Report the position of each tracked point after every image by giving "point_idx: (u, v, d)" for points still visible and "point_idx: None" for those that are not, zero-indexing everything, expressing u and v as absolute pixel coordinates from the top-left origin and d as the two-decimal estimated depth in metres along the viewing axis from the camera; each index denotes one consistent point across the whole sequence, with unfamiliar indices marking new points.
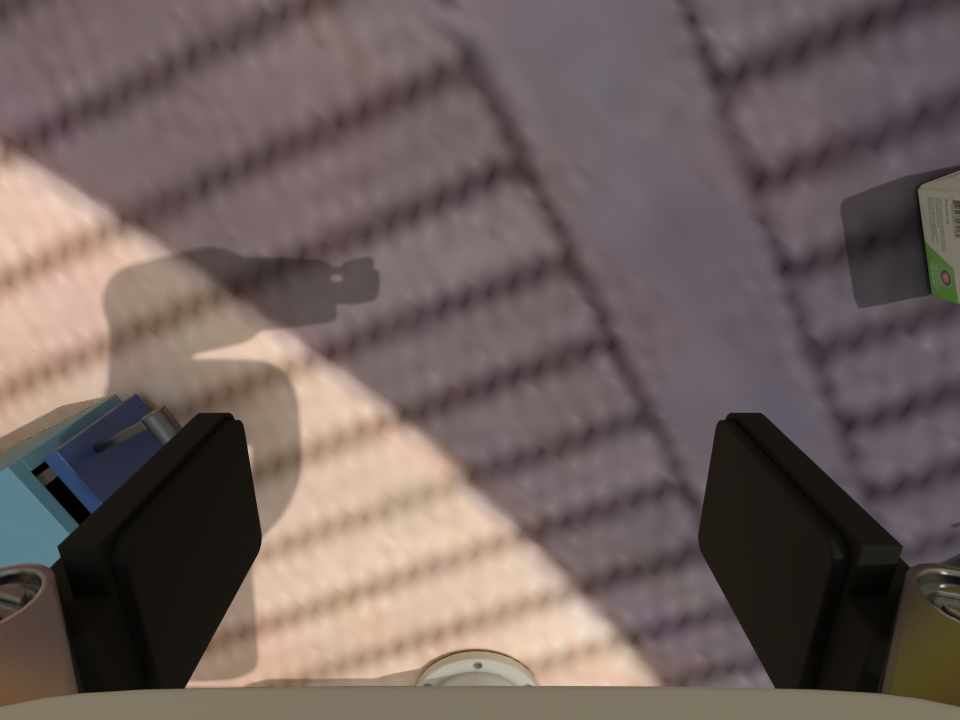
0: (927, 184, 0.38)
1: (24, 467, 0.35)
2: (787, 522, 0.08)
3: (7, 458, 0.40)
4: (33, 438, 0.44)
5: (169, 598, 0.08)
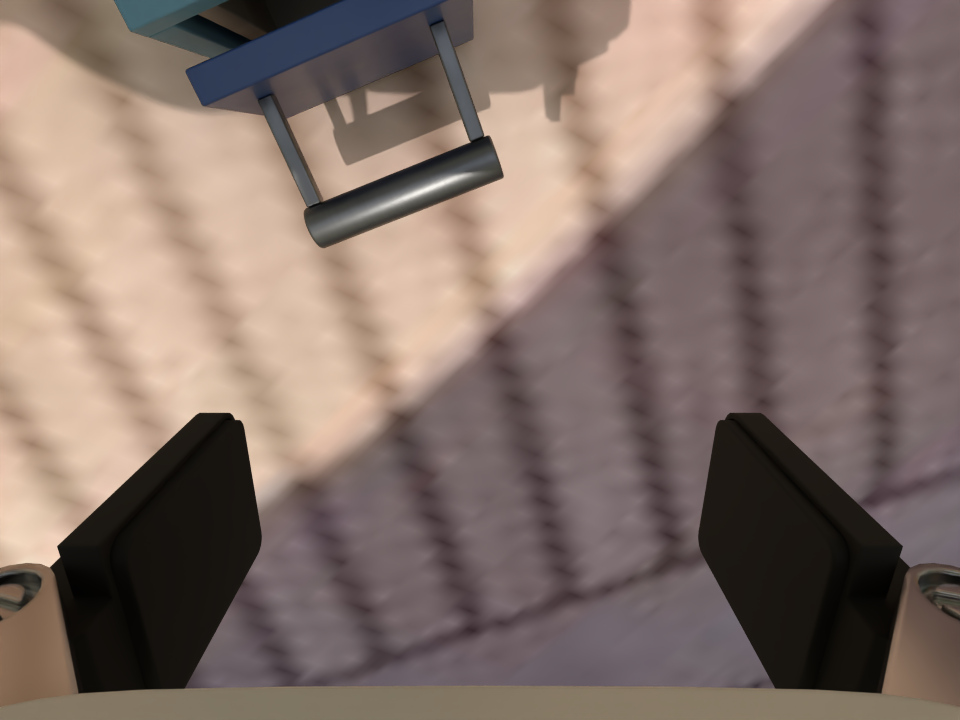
0: None
1: None
2: (787, 522, 0.08)
3: None
4: None
5: (169, 598, 0.08)
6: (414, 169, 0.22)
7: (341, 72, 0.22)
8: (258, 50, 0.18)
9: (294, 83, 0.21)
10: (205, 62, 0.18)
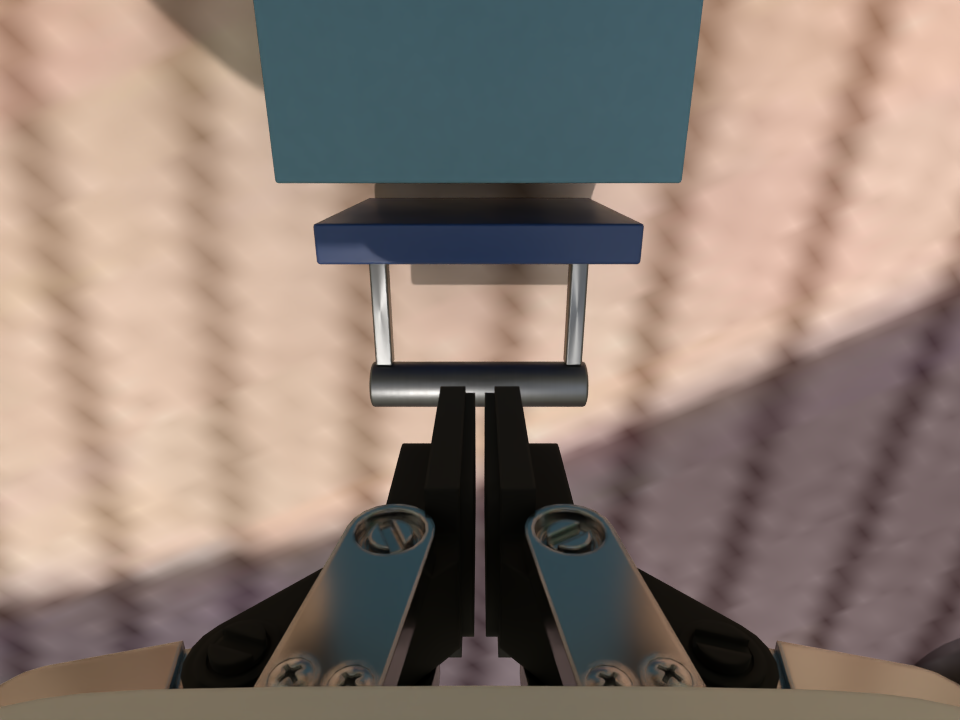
0: None
1: None
2: None
3: None
4: None
5: None
6: (500, 371, 0.20)
7: None
8: (401, 236, 0.17)
9: None
10: (339, 225, 0.17)
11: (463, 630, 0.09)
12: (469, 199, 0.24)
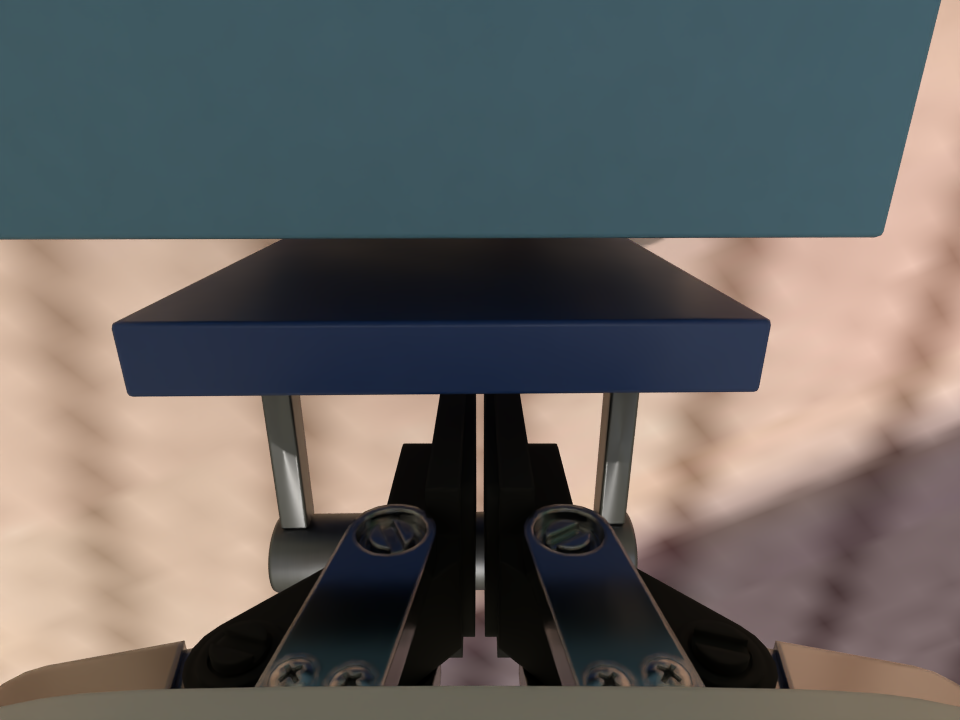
0: None
1: None
2: None
3: None
4: None
5: None
6: None
7: None
8: (290, 345, 0.08)
9: None
10: (163, 325, 0.08)
11: (464, 630, 0.09)
12: (441, 238, 0.16)
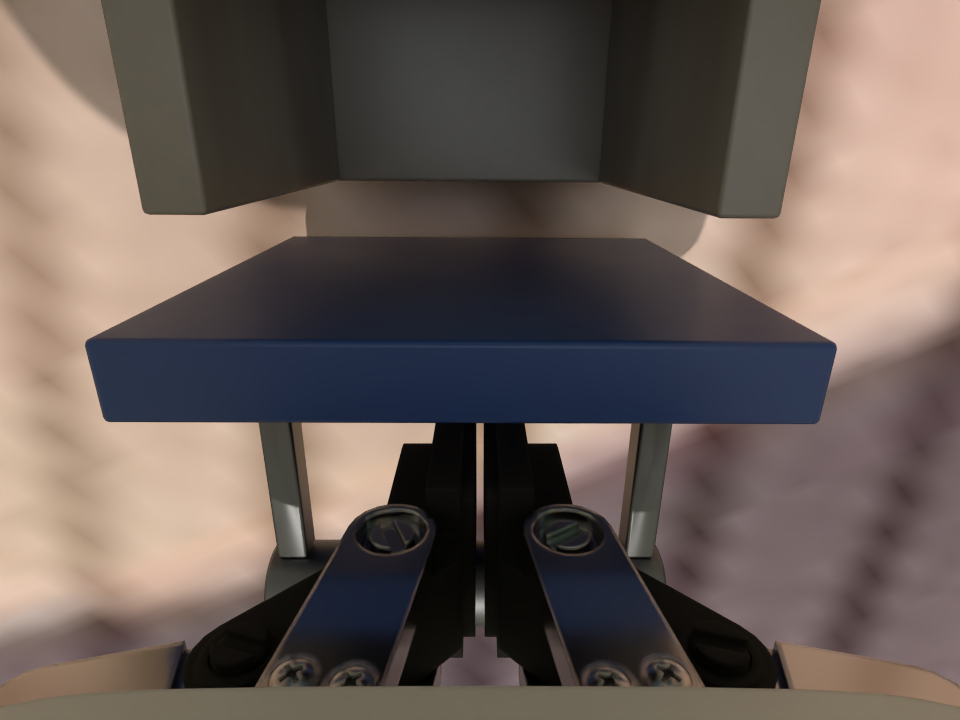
0: None
1: None
2: None
3: None
4: None
5: None
6: None
7: None
8: (286, 367, 0.07)
9: None
10: (143, 342, 0.07)
11: (464, 630, 0.09)
12: (454, 241, 0.15)
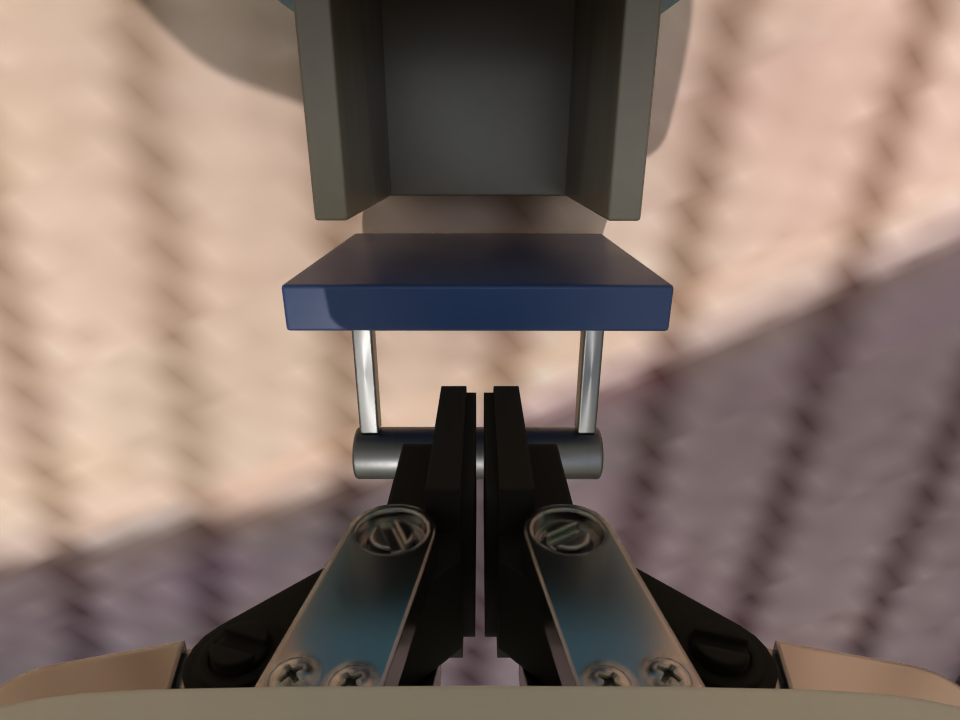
0: None
1: None
2: None
3: None
4: None
5: None
6: None
7: None
8: (385, 299, 0.14)
9: None
10: (312, 286, 0.14)
11: (464, 630, 0.09)
12: (467, 236, 0.21)
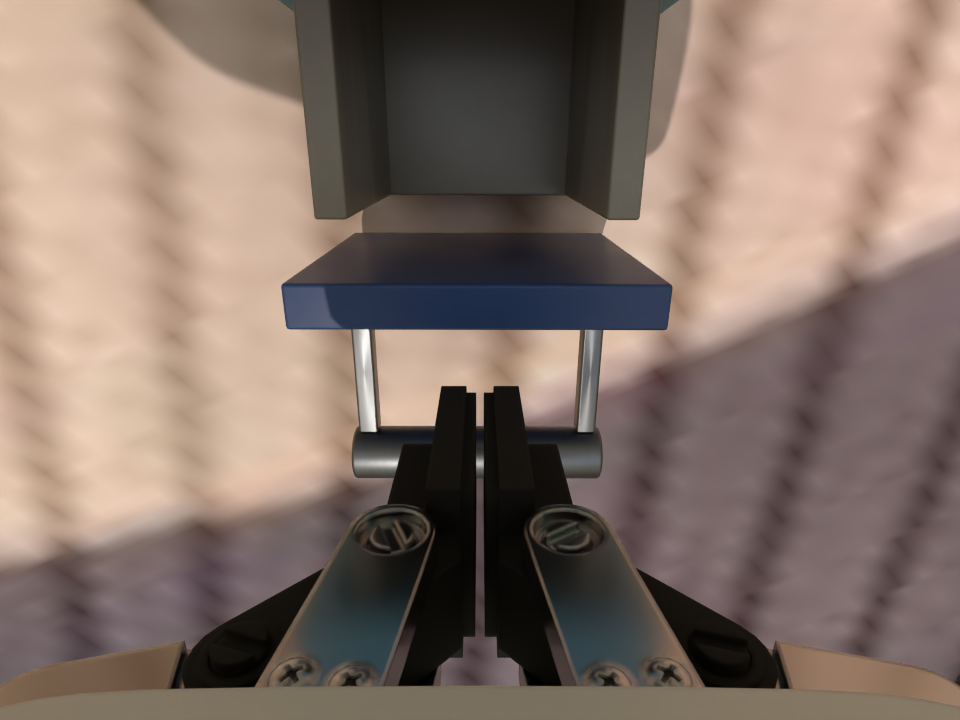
0: None
1: None
2: None
3: None
4: None
5: None
6: None
7: None
8: (385, 298, 0.14)
9: None
10: (311, 285, 0.14)
11: (464, 630, 0.09)
12: (467, 235, 0.22)
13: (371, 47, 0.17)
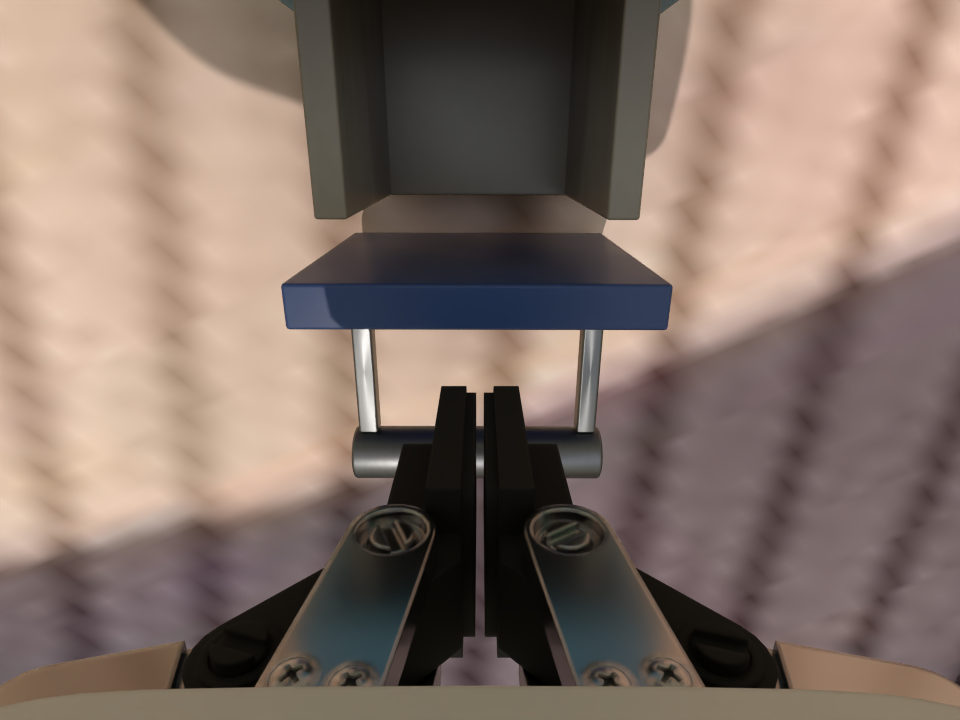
0: None
1: None
2: None
3: None
4: None
5: None
6: None
7: None
8: (385, 298, 0.14)
9: None
10: (311, 285, 0.14)
11: (464, 630, 0.09)
12: (467, 235, 0.21)
13: (371, 47, 0.17)
